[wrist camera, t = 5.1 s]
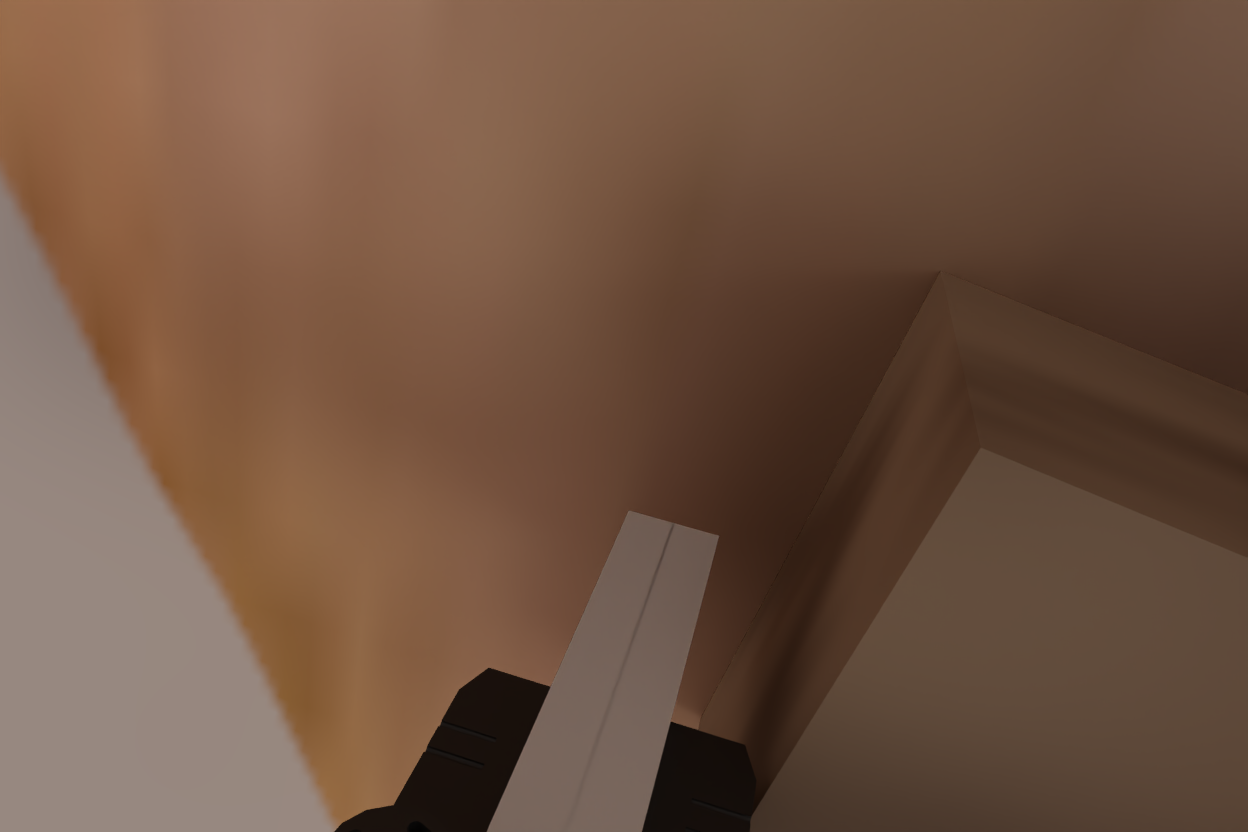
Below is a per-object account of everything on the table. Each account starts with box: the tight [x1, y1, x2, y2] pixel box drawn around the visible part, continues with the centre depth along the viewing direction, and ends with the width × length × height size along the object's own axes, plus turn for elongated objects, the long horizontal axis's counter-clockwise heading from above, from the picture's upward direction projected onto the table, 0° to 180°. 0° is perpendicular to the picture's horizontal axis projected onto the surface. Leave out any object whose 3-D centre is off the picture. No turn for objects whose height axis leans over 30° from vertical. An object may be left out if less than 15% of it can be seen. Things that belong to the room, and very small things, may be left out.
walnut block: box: [698, 271, 1248, 832], centre depth 13 cm, size 10×8×6 cm
